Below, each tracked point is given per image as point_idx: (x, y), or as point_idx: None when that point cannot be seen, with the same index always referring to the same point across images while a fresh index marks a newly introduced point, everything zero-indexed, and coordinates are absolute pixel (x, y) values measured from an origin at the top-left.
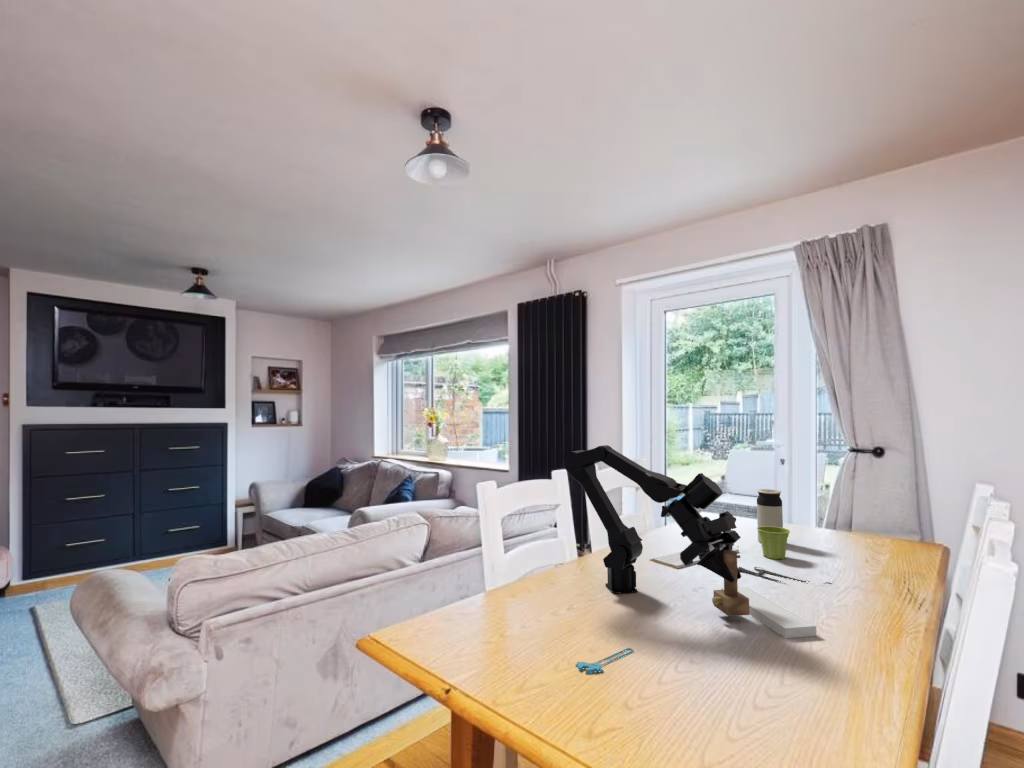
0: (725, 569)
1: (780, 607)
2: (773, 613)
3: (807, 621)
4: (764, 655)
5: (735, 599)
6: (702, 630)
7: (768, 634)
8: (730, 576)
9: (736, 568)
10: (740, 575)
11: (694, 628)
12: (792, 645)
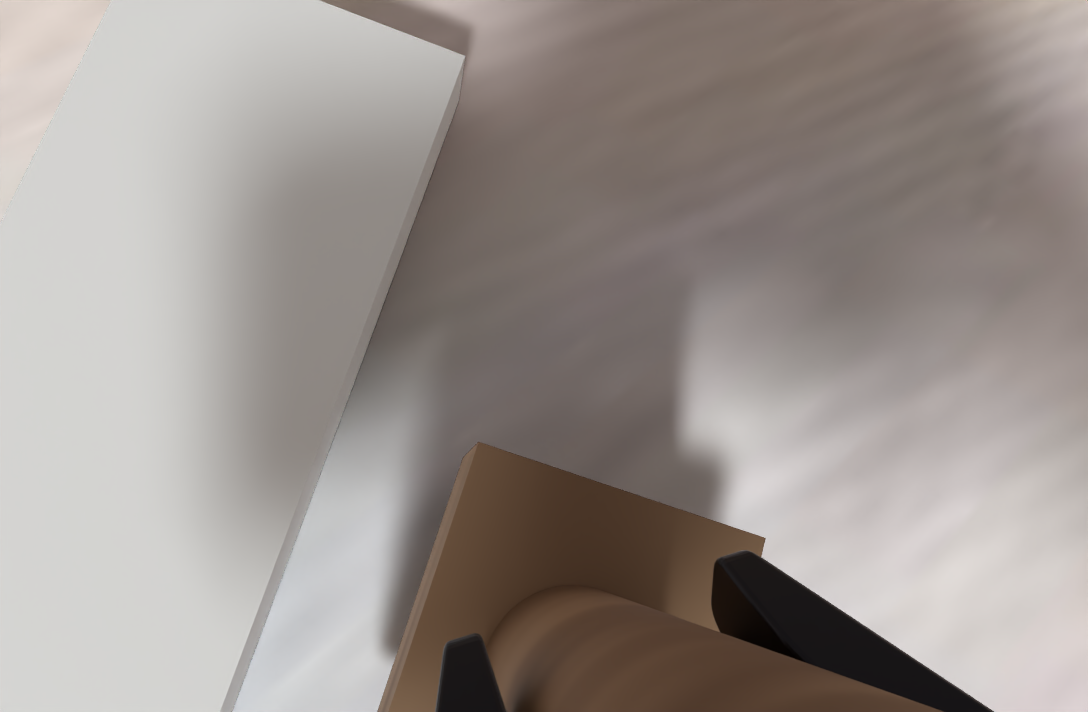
0: (974, 700)
1: None
2: (221, 329)
3: (106, 30)
4: (843, 28)
5: (664, 505)
6: (959, 544)
7: (519, 218)
8: (818, 603)
9: (673, 642)
10: (468, 652)
11: (994, 608)
12: (526, 7)
